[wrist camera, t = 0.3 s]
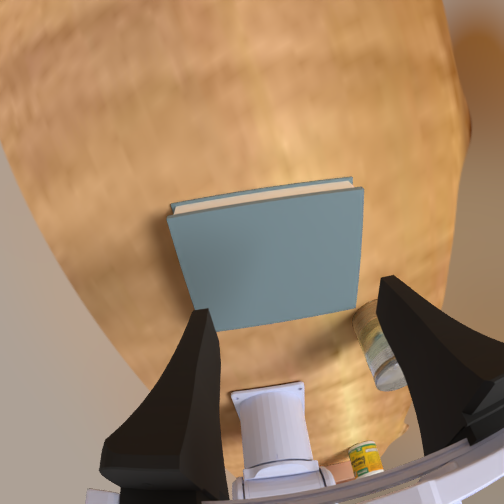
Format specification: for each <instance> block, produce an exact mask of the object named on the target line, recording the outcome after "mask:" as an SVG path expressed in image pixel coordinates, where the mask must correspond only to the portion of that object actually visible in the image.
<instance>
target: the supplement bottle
mask: <svg viewBox="0 0 504 504" xmlns="http://www.w3.org/2000/svg"><path fill="white" fill-rule="evenodd" d="M348 453H349V458H350V461H351V465H352V469H353V473H354V477H355V480H356V479H359V478H363V477H366V476H370V475H373V474H377V473H380V472H383V471H384V470H383V466H382V463H381V460H380V457H379V453H378V450H377V447H376V444H375V442H374V441H365V442H361V443H359V444H356V445H354V446H352V447H351V448H350V449H349V451H348Z"/></svg>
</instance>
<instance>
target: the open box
mask: <svg viewBox="0 0 504 504" xmlns="http://www.w3.org/2000/svg"><path fill="white" fill-rule="evenodd" d="M325 468H326V469H328V470H329V471H330V472H331V473H332V475H333V477H334V480H335V483H336V484H340V483H344V482H348V481H352V480H355V477H354V473H353V469H352V465H351V461H347V462H343V463H339V464H335V465H330V466H326V467H325Z"/></svg>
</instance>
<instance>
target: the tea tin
mask: <svg viewBox="0 0 504 504" xmlns="http://www.w3.org/2000/svg"><path fill="white" fill-rule="evenodd" d="M377 301H378V299H376V300H373V301H370V302H368V303H367V304H365V305H364V306H362V307H361V308H360V309H359V310H358V311H357V312H356V314H355V315H354V317H353V320H352V326H353V328H354V331H355V333H356V335H357V338H358V340H359V344H360V346H361V348H362V351H363V353H364V356H365V358H366V361H367V363H368V366H369V368H370V371H371V373H372V375H373V379H374V382H375V385H376V387H377V389H379V390H381V391H393V390H397V389H400V388H402V387H404V386H406V385H407V382H406V380H405V377H404V375H403V372H402V370H401V368H400V366H399V364H398V362H397V360H396V358H395V356H394V354H393V352H392V350H391V348H390V346H389V344H388V342H387V340H386V338H385V336H384V334H383V332H382V329H381V326H380V324H379V321H378V318H377V315H376V307H377Z"/></svg>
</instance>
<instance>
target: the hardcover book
mask: <svg viewBox="0 0 504 504" xmlns="http://www.w3.org/2000/svg"><path fill="white" fill-rule="evenodd" d="M363 206H364V189H363V188H362V187H354V186H353V177H343V178H335V179H326V180H318V181H310V182H302V183H294V184H287V185H280V186H273V187H266V188H259V189H253V190H246V191H240V192H234V193H227V194H221V195H215V196H210V197H204V198H198V199H193V200H187V201H182V202H176V203H171V207H172V211H173V214H174V215H169V216H167V223H168V226H169V229H170V233H171V236H172V240H173V243H174V246H175V250H176V253H177V256H178V259H179V263H180V266H181V269H182V272H183V275H184V278H185V281H186V284H187V288H188V291H189V294H190V297H191V300H192V303H193V306H194V309H195V310H199V309H206V308H209V311H210V315H211V318H212V321H213V324H214V327H215V330H216V332H218V331H226V330H233V329H240V328H247V327H253V326H260V325H266V324H272V323H279V322H285V321H290V320H296V319H302V318H307V317H313V316H318V315H323V314H329V313H334V312H339V311H344V310H349V309H354V308H356V300H357V291H358V281H359V270H360V258H361V244H362V228H363Z"/></svg>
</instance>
